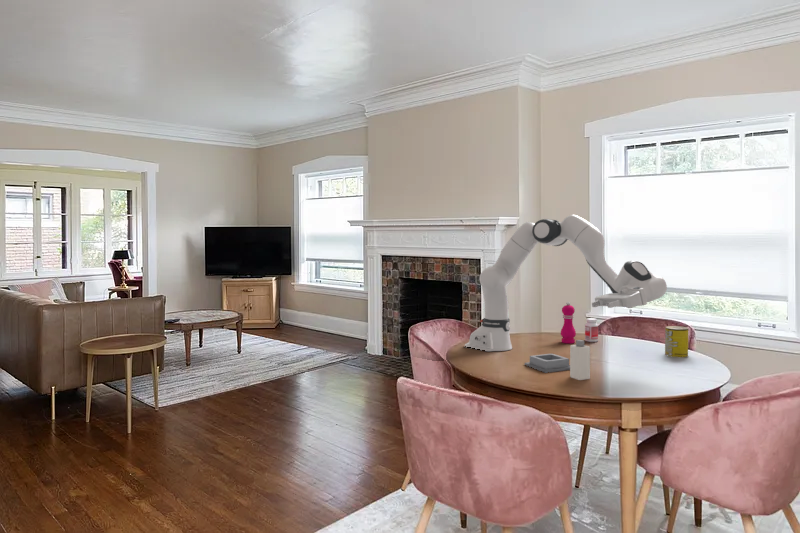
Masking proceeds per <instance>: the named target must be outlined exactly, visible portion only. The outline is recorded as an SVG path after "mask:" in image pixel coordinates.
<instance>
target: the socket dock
mask: <svg viewBox="0 0 800 533" xmlns="http://www.w3.org/2000/svg"><path fill="white" fill-rule="evenodd" d="M523 364H524V366H525V365H527V366H526V367H528V366H529V367H528V368H531V367H532V368H531V369H533V368H534V370H536V369H537V370H536V371H539V372H541V371H542V372H541V373H545V374H549V373H554V372H555V373H556V372H563V371H564V372H565V371H570V358H567V357H565V356H562V355H558V354H554V353H545V354H536V355H535V354H534V355H529V361H527V362H524V363H523ZM548 372H549V373H548Z"/></svg>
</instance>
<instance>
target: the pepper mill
mask: <svg viewBox="0 0 800 533" xmlns="http://www.w3.org/2000/svg"><path fill="white" fill-rule="evenodd" d="M561 313H562V314H563V315H562V316H563V317H562V318H563V325H562V328H561V330H560V336H561V337H562V338H561V343H562V344H569V345H570V344H571V345H573V344H576V339H575V337H576V336H577V335H576V332H577V330H576V329H575V326H574V323H573V320H574V313H575V307H574V306H573V305H571V302H570V301H567V302H566V305H564V306H563V307H562V308H561Z"/></svg>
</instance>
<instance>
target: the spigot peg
mask: <svg viewBox="0 0 800 533" xmlns="http://www.w3.org/2000/svg"><path fill="white" fill-rule="evenodd" d="M569 348H570V350H569V351H570V352H569V365H570V370H569V373H570V374H569V377H570V378H571V379H573V380H578V381H583V380H584V381H585V380H591V346H589V345H586V344H585V339H584V340H583V339H575V344H571V345H570V344H569Z"/></svg>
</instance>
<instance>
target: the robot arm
mask: <svg viewBox="0 0 800 533" xmlns="http://www.w3.org/2000/svg"><path fill="white" fill-rule="evenodd" d="M568 240H569V241H570V242H571V243H572V244H573V245H574V246H575V247H577V249H579V251H580V252H581V253H582V255H583V257H584V258H585V261H586V263H587V265H588V266H589V267H590V268H591V269H592V270H593V271H594V272H595V273H596V275H597V276H598V277H599V278H600V279H601V280H602V281H603V282H604V283H605V284H606V286H608V288H609V290H610V291H611V293H606V294H602V295H599V296H596V297H595V298H594V301H593V302H591V307H592V308H597V307H607V308H608V309H612V308H618V307H620V308H627V309H632V308H636V307H640V306H641V307H642V306H646V305H647V304H648V303H651V302H654V301H655V300H658V299H660V298H662V297H664V296H665V295H666V293H667V289H668V288H667V287H668V285H667V282H666V280H665V279H664V278H663V277H661V276H658V275H656V274H654V273H652V272H651V271H650V270H649V269H648V268H647V266H646V265H645V264H644V263H643V262H641V261H639V260H629V261H626V262H624V264H623V266H622V267H621V269H620V270H619V273H616V272H615V270H613V268H612V267H611V266H610V265H609V264H608V263H607V261H606V259H605V238H604V235H603V233H602V232H601V231H600V230H599V229H598V228H597V227H596V226H595V225H593V224H592V223H590V222H589V221H588V220H586V219H584V218H583V217H581V216H579V215H576V214H569V215H567V216H566V217H565V218H564V219H563V220H562V221H558V219H550V218H544V219H543V218H542V219H540V220H539V219H538V221H536V222H533V221H532V222H531V221H525V222H523V224H521V225H520V226H519V227H518V228H517V229H516V230H515V231H514V233H513V234H512V235H511V237H510V238H509V239H508V241H507V242H506V244H505V245H504V246H503V248H502V249H501V251H500V253H499V256H498V258H497V259H496V262H495V263H494V264H493V265H492V266H487V267H486V268H484V269H483V270H482V272H481V273H480V274H479V284H480V286H481V290H482V294H483V299H484V301H483V302H484V317H483V318H482V319H479V323H481V325H480V326H479V327H478V328H477V329H475V330H474V331H473V332H471V334H470V335H469V340H468V342H467V343H465V344H464V347H465V346H466V347H465V348H467V347H471V348H470V349H472V348H475V349H474V350H477V349H480V350H479V351H482V350H485V351H484V352H501V351H502V352H503V351H510V350H512V349H513V345H512V342H511V341H512V340H511V337H510V329H511V328H510V327H511V326H510V325H511V323H510V321H511V320H510V316H509V306H510V305H509V304H510V302H509V299H508V296H507V290H506V287H507V286H509V285H510V283H511V282H512V281H513V279H514V278H515V276H516V275H517V272H518V271H519V269H520V267H521V266H522V264H523V263H524V261H525V260H526V259H527V257H528V256H529V255H530V253H531V252H532V251H533V249H534V248H535V247H536V246H537V245H538V244H539V243H540V244H543V245H546V246H552V247H559V246H562V245H564V244H566V242H568Z"/></svg>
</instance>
